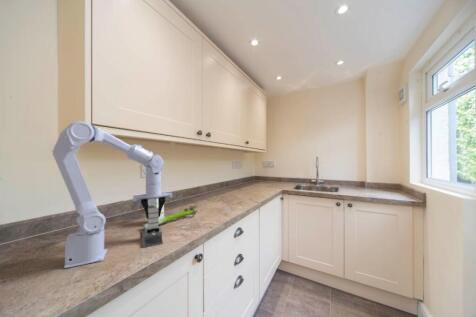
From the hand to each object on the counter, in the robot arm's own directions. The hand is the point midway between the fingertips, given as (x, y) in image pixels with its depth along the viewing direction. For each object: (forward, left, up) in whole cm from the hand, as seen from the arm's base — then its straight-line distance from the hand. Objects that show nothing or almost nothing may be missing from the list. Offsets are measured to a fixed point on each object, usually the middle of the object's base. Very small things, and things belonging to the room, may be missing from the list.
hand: (153, 216), depth 75 cm
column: (0, 0, -5) cm, 5 cm away
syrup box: (+2, +20, -9) cm, 22 cm away
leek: (+10, +18, -9) cm, 22 cm away
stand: (-1, +1, -9) cm, 9 cm away
